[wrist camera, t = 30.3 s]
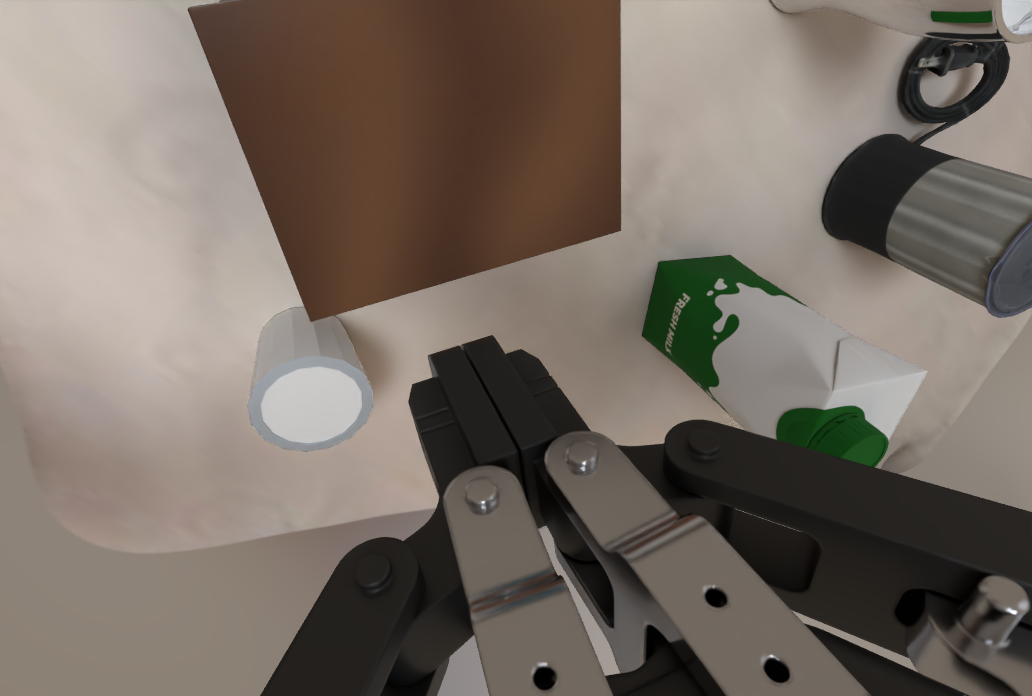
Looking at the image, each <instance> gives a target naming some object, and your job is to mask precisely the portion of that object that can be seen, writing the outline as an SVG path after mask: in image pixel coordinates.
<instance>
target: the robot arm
mask: <svg viewBox="0 0 1032 696" xmlns="http://www.w3.org/2000/svg"><path fill="white" fill-rule="evenodd" d="M428 360H429V364H430V368H431V372H432V376H433V378H430V379H427V380H424V381H421V382H418V383H415V384H412V388H411V393H410V397H409V401H408V402H409V406H410V409H411V413H412V416H413V419H414V423H415V426H416V429H417V433H418V436H419V439H420V443H421V446H422V449H423V452H424V455H425V458H426V461H427V464H428V467H429V469H430V472H431V475H432V478H433V481H434V483H435V486H436V489H437V492H438V495H439V502H438V505H437V508H436V510H435V512H434V514H433V515H432V517H431V518H430V520H429V521H428V522H427V523H426V524H425V525H424V526H423V527H422V528H420V529H419V530H418V531H417V532H415V533H414V534H413V535H411V536H410V537H408V538H407V539H406V540H405V541H401V540H399V539H396V538H389V537H380V538H376V539H371V540H368V541H366V542H364V543H362V544H360V545H358V546H356V547H355V548H354V549H352V550H351V551H350V552H348V553H347V554H346V555H345V556H344V558H343V559H342V560H341V561H340V562H339V564H338V566H337V567H336V568H335V570H334V572H333V574H332V575H331V577H330V579H329V580H328V582H327V584H326V585H325V587H324V589H323V590H322V592H321V594H320V596H319V597H318V599H317V601H316V602H315V604H314V606H313V608H312V609H311V611H310V613H309V614H308V616H307V618H306V619H305V621H304V623H303V624H302V626H301V628H300V629H299V631H298V633H297V634H296V636H295V638H294V640H293V641H292V643H291V645H290V646H289V648H288V650H287V651H286V653H285V655H284V656H283V658H282V660H281V661H280V663H279V665H278V667H277V668H276V670H275V672H274V673H273V675H272V677H271V679H270V680H269V682H268V683H267V685H266V687H265V688H264V690H263V692H262V694H261V695H260V696H437V694H438V691H439V689H440V686H441V683H442V680H443V678H444V675H445V672H446V670H447V667H448V663H449V657H450V655H452V654H453V653H454V652H455V651H456V650H457V649H459V648H460V647H461V646H462V645H463V644H464V643H465V642H467V641H468V640H469V639H470V638H471V637H472V636H473V635H475V639H476V643H477V647H478V651H479V655H480V659H481V664H482V667H483V672H484V676H485V680H486V683H487V688H488V692H489V696H1032V512H1029V511H1026V510H1022V509H1019V508H1015V507H1012V506H1008V505H1005V504H1001V503H998V502H994V501H991V500H986V499H984V498H980V497H977V496H973V495H970V494H966V493H962V492H959V491H955V490H951V489H948V488H945V487H941V486H938V485H934V484H931V483H927V482H924V481H920V480H917V479H913V478H909V477H906V476H903V475H899V474H896V473H892V472H889V471H885V470H882V469H878V468H875V467H871V466H868V465H864V464H861V463H857V462H854V461H850V460H847V459H843V458H840V457H836V456H833V455H829V454H826V453H822V452H819V451H815V450H811V449H808V448H804V447H801V446H797V445H794V444H790V443H787V442H783V441H780V440H776V439H773V438H769V437H766V436H762V435H759V434H755V433H752V432H748V431H745V430H741V429H738V428H734V427H731V426H727V425H724V424H720V423H717V422H713V421H708V420H689V421H685V422H682V423H680V424H677V425H676V426H674V427H673V428H672V429H671V430H670V431H669V432H668V433H667V435H666V437H665V442H664V444H655V445H644V446H620V445H616V444H615V443H614V442H613V441H612V440H611V439H609V438H608V437H606V436H604V435H602V434H600V433H597V432H593V431H591V430H590V429H589V428H588V426H587V425H586V424H585V422H584V421H583V419H582V418H581V417H580V415H579V414H578V413H577V411H576V410H575V408H574V407H573V406H572V404H571V403H570V402H569V400H568V399H567V397H566V396H565V395H564V393H563V392H562V390H561V389H560V388H559V387H558V386H557V384H556V382H555V381H554V379H553V378H552V377H551V376H550V375H549V372H548V371H547V370H546V368H545V367H544V366H543V364H542V363H541V361H540V360H539V359H538V358H536V357H535V356H533V355H531V354H529V353H527V352H525V351H524V350H522V349H520V350H516V351H513V352H510V353H507V354H505V353H504V351H503V349H502V348H501V346H500V345H499V343H498V342H497V340H496V339H495V337H494V336H493V335H491V336H487V337H484V338H481V339H478V340H475V341H471V342H468V343H465V344H462V345H461V347H460V346H456V347H453V348H449V349H446V350H443V351H440V352H437V353H434V354H430V355H428ZM736 509H738V510H736ZM739 510H741V511H739ZM742 511H744V512H746V513H744V512H742ZM748 513H749V514H748ZM750 514H752V515H750ZM753 515H755V516H753ZM756 516H758V517H756ZM759 517H761V518H759ZM762 518H764V519H762ZM765 519H767V520H765ZM768 520H769V521H768ZM770 521H772V522H770ZM773 522H775V523H773ZM776 523H778V524H776ZM779 524H781V525H779ZM546 525H547V527H548V529H549V531H550V533H551V535H552V537H553V539H554V544H555V553H556V556H557V559H558V561H559V563H560V564H561V566H562V567H563V569H564V571H565V572H566V574H567V575H568V577H569V579H570V580H571V582H572V584H573V585H574V587H575V588H576V590H577V592H578V593H579V595H580V596H581V598H582V600H583V601H584V603H585V604H586V606H587V608H588V609H589V611H590V613H591V614H592V616H593V617H594V619H595V621H596V622H597V624H598V625H599V627H600V628H601V630H602V632H603V634H604V635H605V637H606V639H607V641H608V642H609V645H610V647H611V649H612V652H613V655H614V658H615V661H616V664H617V666H618V668H619V671H620V674H614V675H608V676H605V675H604V673H603V670H602V668H601V665H600V663H599V661H598V658H597V655H596V653H595V651H594V648H593V646H592V643H591V641H590V639H589V636H588V634H587V631H586V629H585V626H584V624H583V622H582V619H581V617H580V614H579V612H578V610H577V607H576V605H575V602H574V600H573V598H572V595H571V593H570V590H569V588H568V586H567V584H566V582H565V580H564V579H563V577H562V576H561V575H559V576H558V575H557V573H556V571H555V569H554V567H553V565H552V562H551V560H550V558H549V555H548V552H547V550H546V547H545V545H544V542H543V540H542V537H541V535H540V532H539V530H538V528H541V527H543V526H546ZM782 525H784V526H782ZM785 526H787V527H785ZM788 527H790V528H788ZM791 528H792V529H791ZM793 529H795V530H793ZM796 530H798V531H796ZM799 531H801V532H799ZM791 610H793V611H795V612H798V613H800V614H802V615H805V616H807V617H810V618H812V619H815V620H817V621H820V622H822V623H824V624H827V625H829V626H832V627H834V628H837V629H839V630H842V631H844V632H847V633H849V634H851V635H854V636H856V637H859V638H861V639H863V640H866V641H868V642H871V643H874V644H876V645H878V646H881V647H883V648H885V649H888V650H890V651H893V652H895V653H898V654H900V655H903V656H905V657H907V658H910V660H911V661H912V663H913V665H914V667H915V668H916V669H917V671H918V672H919V673H918V672H916V671H914V670H911V669H909V668H907V667H905V666H902V665H900V664H898V663H896V662H894V661H891V660H889V659H887V658H884V657H882V656H880V655H878V654H875V653H873V652H871V651H869V650H867V649H865V648H862V647H860V646H858V645H855V644H853V643H851V642H849V641H847V640H844V639H842V638H840V637H838V636H835V635H833V634H831V633H829V632H826V631H824V630H822V629H819V628H816V627H814V626H810V625H807V624H804V623H803V622H802V621H801V620H800V619H799V618H798V617H797V616H796V615H795V614H794V613H793V612H792V611H791Z"/></svg>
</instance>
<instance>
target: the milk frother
mask: <svg viewBox="0 0 1032 696" xmlns="http://www.w3.org/2000/svg"><path fill="white" fill-rule="evenodd" d="M956 42H968V43H972V44H973V45H972V46H971V45H969V44H964V45H962V46H949V45H950V44H953V43H956ZM975 46H977V47H975ZM1009 62H1010V56H1009V53H1008V49H1007V46H1006V44H1005V43H1004V42H977V41H954V40H942V39H932V38H928V39H927V40H926V41H925V42H924V43H923V44H922V45H921V46H920V48H919V49H918V50H917V51H916V53H915V54H914V55H913V57H912V59H911V61H910V62H909V64H908V66H907V69H906V71H905V74H904V77H903V81H902V86H901V101H902V104H903V106H904V108H905V110H906V111H907V112H908V113H909V114H910V115H911V116H912V117H914V118H915V119H917V120H918V121H921V122H924V123H943V122H947V123H945V124H943V125H942V126H940V127H938V128H937V129H935V130H933V131H931V132H929V133H927V134H925V135H923V136H922V137H920V138H919V139H917V140H916V141H915V142H913V143H912V142H909V141H908V140H907V139H906V138H904V137H902V136H901V135H898V134H885V135H881V136H878V137H876V138H873V139H871V140H870V141H868V142H867V143H865V144H864V145H862V146H860V148H859V149H857V150H856V151H855V152H854V153H852V155H851V156H850V157H849V158H848V159H847V160H846V161H845V162H844V164H843V165H842V166H841V167H840V169H839V170H838V172H837V173H836V175H835V177H834V178H833V181H832V182H831V184H830V187H829V189H828V192H827V194H826V197H825V201H824V207H823V220H824V224H825V227H826V229H827V231H828V232H829V233H830V234H831V235H832V236H833V237H835V238H837V239H840V240H848V241H851V242H853V243H855V244H858V245H860V246H862V247H865V248H867V249H869V250H871V251H873V252H876V253H878V254H880V255H882V256H884V257H886V258H888V259H890V260H892V261H894V262H896V263H898V264H900V265H902V266H904V267H906V268H907V269H909V270H911V271H913V272H915V273H917V274H919V275H921V276H923V277H925V278H927V279H929V280H931V281H933V282H936V283H938V284H940V285H942V286H944V287H946V288H948V289H950V290H952V291H954V292H956V293H958V294H960V295H962V296H964V297H966V298H968V299H970V300H972V301H974V302H976V303H978V304H980V305H982V306H984V307H986V309H987V310H988V312H989V313H990V314H991V315H993V316H996V317H999V318H1003V317H1004V318H1005V317H1009V316H1014V315H1017V314H1019V313H1021V312H1023V311H1025V310H1027V309H1029V308H1032V178H1028V177H1025V176H1021V175H1018V174H1014V173H1011V172H1007V171H1003V170H1000V169H996V168H993V167H989V166H986V165H982V164H979V163H975V162H972V161H968V160H965V159H962V158H958V157H954V156H951V155H947V154H944V153H941V152H938V151H935V150H932V149H929V148H926V147H923V146H920V145H921V144H922V143H923V142H924V141H926V140H927V139H929V138H930V137H932V136H933V135H935V134H937V133H938V132H940V131H942V130H944V129H946V128H948V127H950V126H952V125H955V124H957V123H958V122H959V121H961V120H963V119H965V118H967V117H968V116H970V115H971V114H973V113H974V112H976V111H977V110H979V109H980V108H981V107H982V106H984V105H985V104H986V103H987V102H989V101H990V99H991V98H992V97H993V96H994V95H995V94H996V92H997V91H998V90H999V89H1000V87H1001V86H1002V84H1003V83H1004V81H1005V79H1006V76H1007V73H1008V70H1009ZM973 63H983V64H984V67H983V70H984V74H983V76H982V78H981V80H980V82H979V83H978V85H977V86H976V87H975V88H974V89H973V90H972V91H971V92H970V93H969V94H968V95H967V96H966V97H965V98H963V99H962V100H960V101H959V102H957V103H955V104H953V105H950V106H947V107H943V108H938V107H932V106H929V105H927V104H926V103H925V102H924V100H923V99H922V96H921V93H920V80H921V76H922V73H923V70H924V69H926V68H927V69H928V70H929V71H931V72H933V73H935V74H937V75H938V76H941V77H942V76H945V75H946V74H947V72H948V71H950V70H956V69H959V68H962V67H969V66H971V65H972V64H973Z"/></svg>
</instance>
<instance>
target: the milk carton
mask: <svg viewBox="0 0 1032 696" xmlns="http://www.w3.org/2000/svg"><path fill="white" fill-rule="evenodd" d="M642 336H643V337H644V338H645V339H646V340H647V341H649V342H650V343H651V344H652V345H653V346H655V347H656V348H657V349H658V350H659V351H660V352H662V353H663V354H664V355H665V356H666V357H668V358H669V359H670V360H671V361H672V362H674V363H675V364H676V365H677V366H678V367H680V368H681V369H682V370H683V371H684V372H685V373H686V374H687V375H688V376H689V377H690V378H691V379H692V380H693V381H694V382H695V383H697V384H698V385H699V386H700V387H701V388H702V389H703V390H704V391H705V392H706V393H707V394H708V395H709V396H710V397H711V398H712V399H713V400H714V401H715V402H716V403H717V404H718V405H719V406H720V407H721V408H722V409H724V410H725V411H726V412H727V413H728V414H729V415H730V416H731V417H732V418H733V419H734V420H735V421H736V422H737V423H738V424H739V425H740V426H741V427H742V428H743V429H744V430H745V431H748V432H752V433H755V434H759V435H762V436H766V437H769V438H773V439H776V440H780V441H783V442H787V443H790V444H794V445H797V446H801V447H804V448H808V449H811V450H815V451H819V452H822V453H826V454H829V455H833V456H836V457H840V458H843V459H847V460H850V461H854V462H857V463H861V464H864V465H868V466H871V467H875V466H877V464H878V463H879V462H880V461H881V459H882V458H883V456H884V455H885V453H886V451H887V448H888V441H889V439H890V437H891V435H892V434H893V432H894V430H895V428H896V427H897V425H898V423H899V421H900V420H901V418H902V416H903V414H904V413H905V411H906V409H907V407H908V406H909V404H910V402H911V400H912V399H913V397H914V395H915V393H916V392H917V390H918V388H919V386H920V385H921V383H922V381H923V379H924V378H925V376H926V374H927V372H928V371H927V370H924V369H922V368H920V367H918V366H916V365H914V364H912V363H910V362H907V361H905V360H903V359H901V358H899V357H897V356H895V355H893V354H891V353H889V352H887V351H885V350H883V349H880V348H878V347H876V346H874V345H872V344H870V343H868V342H866V341H864V340H862V339H860V338H858V337H856V336H854V335H852V334H851V333H849V332H847V331H846V330H844V329H842V328H841V327H839V326H838V325H836V324H835V323H833V322H832V321H830V320H828V319H827V318H825V317H824V316H822V315H820V314H819V313H817V312H816V311H814V310H812V309H811V308H809V307H808V306H806V305H805V304H803V303H801V302H800V301H798V300H797V299H795V298H793V297H792V296H790V295H789V294H787V293H786V292H784V291H782V290H781V289H779V288H778V287H776V286H774V285H773V284H771V283H770V282H768V281H767V280H765V279H763V278H762V277H760V276H758V275H757V274H756V273H754V272H753V271H752V270H750V269H749V268H747V267H746V266H745V265H743V264H742V263H741V262H739V261H738V260H736V259H735V258H734V257H732V256H731V255H727V256H716V257H705V258H694V259H683V260H672V261H661V262H659V265H658V269H657V273H656V277H655V282H654V286H653V290H652V294H651V299H650V303H649V307H648V312H647V316H646V320H645V324H644V329H643V333H642Z"/></svg>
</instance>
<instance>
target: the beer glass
mask: <svg viewBox="0 0 1032 696" xmlns="http://www.w3.org/2000/svg"><path fill="white" fill-rule="evenodd" d="M771 2H772V3H773V4H774V5H775V7H777V8H778V9H779V10H781V11H783V12H785V13H803V12H809V11H814V10H823V9H826V10H835V11H841V12H844V13H847V14H850V15H853V16H855V17H858V18H860V19H863V20H866V21H868V22H871V23H874V24H876V25H879V26H882V27H884V28H887V29H891V30H894V31H898V32H901V33H905V34H908V35H913V36H919V37H925V38H932V39H942V40H954V41H977V42H1011V43H1026V42H1030V41H1032V0H771Z"/></svg>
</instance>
